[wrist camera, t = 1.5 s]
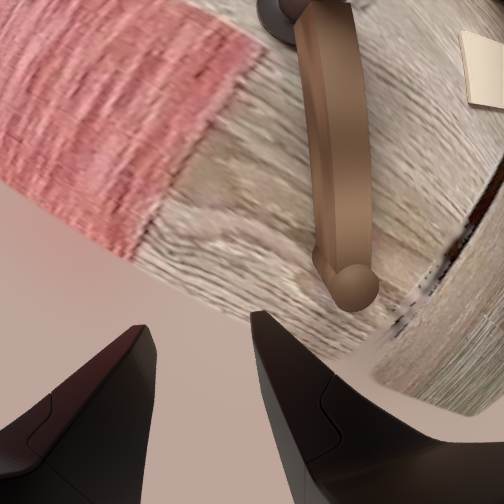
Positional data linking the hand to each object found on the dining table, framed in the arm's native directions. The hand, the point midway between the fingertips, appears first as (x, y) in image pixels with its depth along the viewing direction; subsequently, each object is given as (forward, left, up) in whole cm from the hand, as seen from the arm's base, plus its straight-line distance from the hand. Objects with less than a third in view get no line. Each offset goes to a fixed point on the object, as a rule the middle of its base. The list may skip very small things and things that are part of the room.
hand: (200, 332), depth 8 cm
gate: (-6, -5, -10) cm, 13 cm away
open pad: (-21, -9, -11) cm, 25 cm away
